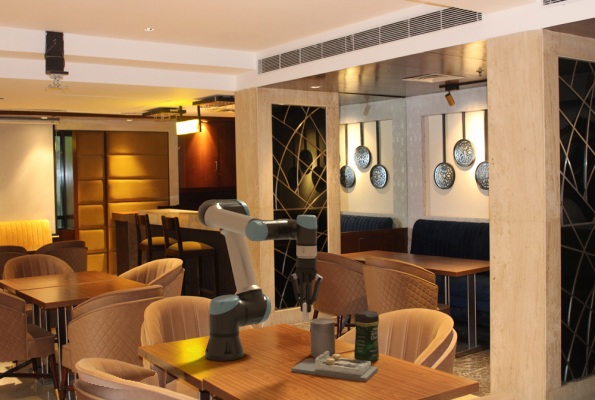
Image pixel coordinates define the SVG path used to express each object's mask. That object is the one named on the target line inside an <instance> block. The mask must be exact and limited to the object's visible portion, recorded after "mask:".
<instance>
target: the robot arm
mask: <svg viewBox="0 0 595 400" xmlns="http://www.w3.org/2000/svg"><path fill="white" fill-rule="evenodd" d="M197 218H198V221H199V223H200V224H202V225H203V226H204V227H208V228H210V229H217V228H219V231H220V234H221V235H223V236H224V238H225V243H226V246H227V251H228V256H229V257H228V258H229V260H230V264H231V265H230V266H231V268H232V275H233V279H234V284H235V287H236V292H235V293H234V294H224V295H220V296H216V297H214V298H212V299H211V300H210V302H209V310H208V312H209V313H208V314H209V337H208V340H207V345H206V347H205V352H204V358H206V359H207V360H210V361H215V362H228V361H235V360H239V359H241V358H244V357H245V356H244V355H245V354H244V352H245V350H244V346H243V344H242V341H241V337H240V328H241V327H247V326H254V325H259V324H261V323H265V322H266V321H267V320H268V319H269V317H270V315H271V313H272V312H271V311H272V302H271V298H270V297H269V296H268V295H267V294H265V293H264V292H263V289H262V288H261V287H260V286H258V283H257V280H256V275H255V270H254V267H253V262H252V258H251V254H250V253H251V252H250V249H249V244H248V241H247V238H248V240H249V241H251V242H263V241H280V240H295V241H296V244H295V245H296V250H295V251H296V261H295V262H296V264H295V268H296V269H295V271H294V273H293V274H290V275H289V279H290V281H291V285H292V288H293V294H294V298H295V301H296V302H298V303H300V312H301V313H302V322H304V323H306V322H308V321H309V322H310V313H312V308H313V307H312V305H313V303H315V302H317V300H318V295H319V293H320V287H321V284H322V282H323V280H324V276H321V275H320V274H318V273H319V272H318V271H317V265H318V264H317V262H318V259H317V256H318V252H317V251H318V248H317V247H318V246H317V244H318V243H317V242H318V219H317V216H316V215H313V214H298V215H297V217H296V219H291V218H278V219H262V218H261V219H260V218H257V217H254V216H251V213H250V208H249V206H248V205H247V203H245V201H243V200H241V199H234V198H233V199H232V198H231V199H210V200H209V199H208V200H205V201H204V202H203V203H202V204H201V205H199V207H198V210H197ZM314 280H315V283H314ZM313 284H314V286H313Z"/></svg>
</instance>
